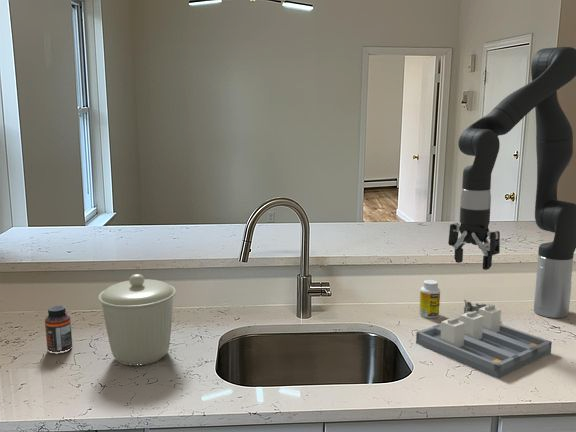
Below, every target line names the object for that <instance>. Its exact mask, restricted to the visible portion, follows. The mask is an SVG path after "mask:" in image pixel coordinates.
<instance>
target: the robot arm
mask: <svg viewBox="0 0 576 432" xmlns="http://www.w3.org/2000/svg"><path fill="white" fill-rule="evenodd" d="M530 75H531V76H530V77H531V81H530V82H529V83H527V84H525V85H524V86H522V87H520V88H518V89H517V90H515V91H513V92H511V93H510V94H509V95H507V96H505V97H504V98H503V99H502V100H501V101H500V102H499V103H498V104H497V105H496V106H495V107H494V108H492V110H491V111H490V112H488V114H486V115H484V116H482V117H481V118H479V119H478V120H476V121H475V122H473V123H472V124H470V125H469V126H468V127H466V128H465V129H464V130H463V131H462V133H461V134H460V136H459V138H458V144H457V146H458V150H459V151H460V152H461V153H463V155H466V156H471V157H474V160H473V163H472V164H471V165H467V166H465V167H464V169H463V171H462V181H461V182H462V185H461V188H462V189H461V195H460V205H459V207H460V208H459V223H460V224H459V223H451V224H450V225H449V231H448V232H449V233H448V245H449V246H451V247H453V249H454V257H453V258H454V260H455V263H457V264H460V263H462V262H463V259H464V248H463V247H464V246H465V245H466V244H471V245H473V246H477V248H478V249H480V250H481V252H482V254H483V257H482V270H484V271H487V270H489V269H490V268H491V267H492V266H493V265H492V261H493V256H495V255H497V254H500V251H501V250H500V246H501V243H500V242H501V241H500V240H501V239H500V238H501V237H500V236H501V235H500V231H499V230H496V231H492V230H491V231H490V229H489V225H490V222H491V221H490V220H491V204H492V203H491V202H492V195H491V187H492V185H491V184H492V174H493V173H492V172H493V170H494V167H495V165H496V160H497V158H498V155H499V152H500V138H499V136H503V135H504V136H505V135H507V134H508V133H509V132H511V130H513V129H514V128H515V126H516V125H517V124H518V123H520V121H522V120H523V119H524V118H525V117H526V116H527V115H528V114H529V113H530V112H531V111H532V110H533V109H535V129H536V130H535V131H536V132H535V135H536V136H535V144H536V145H535V147H536V148H535V149H536V171H537V172H536V192H535V204H534V205H535V206H534V219H535V223H536V225H537V227H538V228H539V229H540V230H543V231H545V232H550V233H554V237H553V240H552V241H551V242H544V243H541V244H539V245H538V246H539V247H538V252H537V253H538V254H537V266H536V276H535V277H536V280H535V292H534V300H533V301H534V302H533V312H534V313H535V314H537V315H539V316H541V317H545V318H553V319H563V318H566V317H568V316H569V312H570V303H571V302H570V301H571V295H572V294H571V293H572V277H573V265H574V255H575V251H576V203H574V202H569V201H564V200H558V184H559V181H560V178H561V176H562V175H563V173H564V171H565V170H566V168H567V166H568V165H569V163H570V162H571V160H572V157H573V154H574V152H573V151H574V135H573V134H574V133H573V128H572V125H571V123H570V121H569V119H568V117H567V116H566V113H565V112H564V111H563V109H562V106H561V105H560V102H559V99H558V93H557V92H558V90H560V89H561V88H562V87H565V85H567V84H568V83H570V82H571V81H572V80H573V79H575V78H576V48H575V47H572V46H557V47H548V48H541V49H539V50H537V51H536V53H534V55H533V56H532V60H531V66H530ZM459 233H460V236H459Z"/></svg>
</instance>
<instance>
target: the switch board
mask: <svg viewBox="0 0 576 432" xmlns="http://www.w3.org/2000/svg"><path fill="white" fill-rule="evenodd" d="M458 318H459V321H460V316H458ZM415 334H416V335H415V336H416V338H415V343H416V344H417V345H419V346H421V347H424V348H427V349H429V350H431V351H433V352H435V353H438V354H440V355H442V356H445V357H447V358H450V359H452V360H454V361H457V362H459V363H462V364H463V365H466V366H468V367H471V368H472V369H475V370H478V371H480V372H482V373H484V374H487V375H489V376H491V377H493V378H496V379H499V378H501V377H503V376H505V375H508V374H510V373H512V372H514V371H517V370H518V369H521V368H522V367H524V366H527V365H529V364H531V363H533V362H535V361H538V360H539V359H542V358H543V357H546V356H548V355H550V354H551V353H552V344H553V342H552V341H551V340H548V339H544V338H542V337H539V336H537V335H534V334H530V333H528V332H525V331H521V330H519V329H516V328H513V327H510V326H507V325H504V324H501V323H500V331H499V332H497V333H495V332H493V331H490V330H487V329H484V328H483V332H482V339H479V340H477V339H474V338H472V337H469V336H467V335H464V346H461V347H456V346H454V345H451V344H449V343H447V342H444V341H442V340H440V339H441V323H438V324H436V325H433V326H431V327H428V328H424V329H422V330H419V331H417V332H415Z"/></svg>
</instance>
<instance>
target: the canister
mask: <svg viewBox="0 0 576 432" xmlns="http://www.w3.org/2000/svg"><path fill="white" fill-rule="evenodd" d="M176 293H177V290H176V288H175V287H174V286H173V285H171V284H169V283H167V282H164V281H163V280H157V279H146V278H145V277H144V275H142V274H141V273H140V274H139V273H135V274H132V275H131V276H130V277H129V279H128V280H125V281H121V282H118V283H115V284H112V285H110V286H108V287H107V288H106V289H104V290H103V291H101V292H100V293H99V295H98V297H97V299H98V301H99V302H100V304H101V306H102V312H103V316H104V317H103V318H104V323H105V328H106V334H107V338H108V342H109V347H110V351H111V353H112V356H113V358H114V359H115V360H116V361H117V362H118V363H120V362H121V363H120V364H122V363H124V364H123V365H125V364H131V365H130V366H132V365H134V366H136V365H137V364H138V365H137V366H141V365H140V364H145V365H148V364H147V363H150V364H153V363H156V362H158V361H160V360H161V359H162V357H163V358H165V356H166V355H167V353H168V351H169V348H170V344H171V335H172V322H173V308H174V307H173V305H174V297H175V295H176ZM159 359H160V360H159ZM157 360H158V361H157ZM155 361H156V362H155ZM152 362H153V363H152Z"/></svg>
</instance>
